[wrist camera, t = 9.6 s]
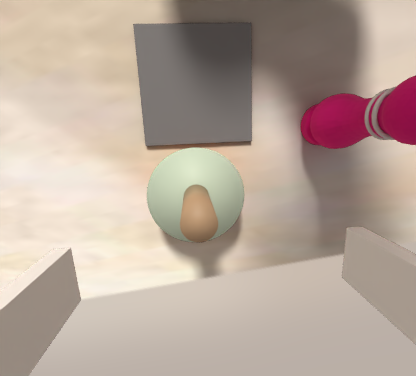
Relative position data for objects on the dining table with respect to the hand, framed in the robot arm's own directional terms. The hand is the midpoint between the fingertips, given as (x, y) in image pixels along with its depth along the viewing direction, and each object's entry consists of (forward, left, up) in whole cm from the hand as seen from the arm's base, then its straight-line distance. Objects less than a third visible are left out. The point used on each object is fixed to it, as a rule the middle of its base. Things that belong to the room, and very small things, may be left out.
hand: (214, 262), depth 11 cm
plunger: (+1, -1, -20) cm, 20 cm away
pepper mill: (-8, +19, -25) cm, 33 cm away
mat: (-14, 0, -25) cm, 28 cm away
